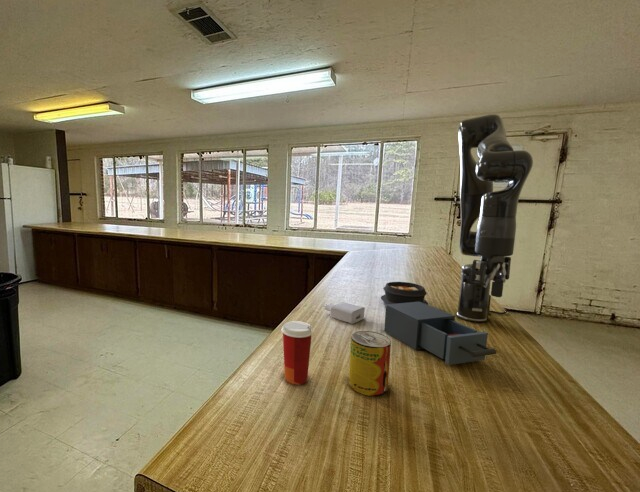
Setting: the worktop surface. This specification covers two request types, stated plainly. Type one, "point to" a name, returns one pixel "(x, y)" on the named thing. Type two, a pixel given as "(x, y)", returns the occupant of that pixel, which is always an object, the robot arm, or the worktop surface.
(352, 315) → the charger
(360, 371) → the food can
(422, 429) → the worktop surface
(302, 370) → the paper cup
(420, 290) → the casserole
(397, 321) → the cabinet
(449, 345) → the drawer
